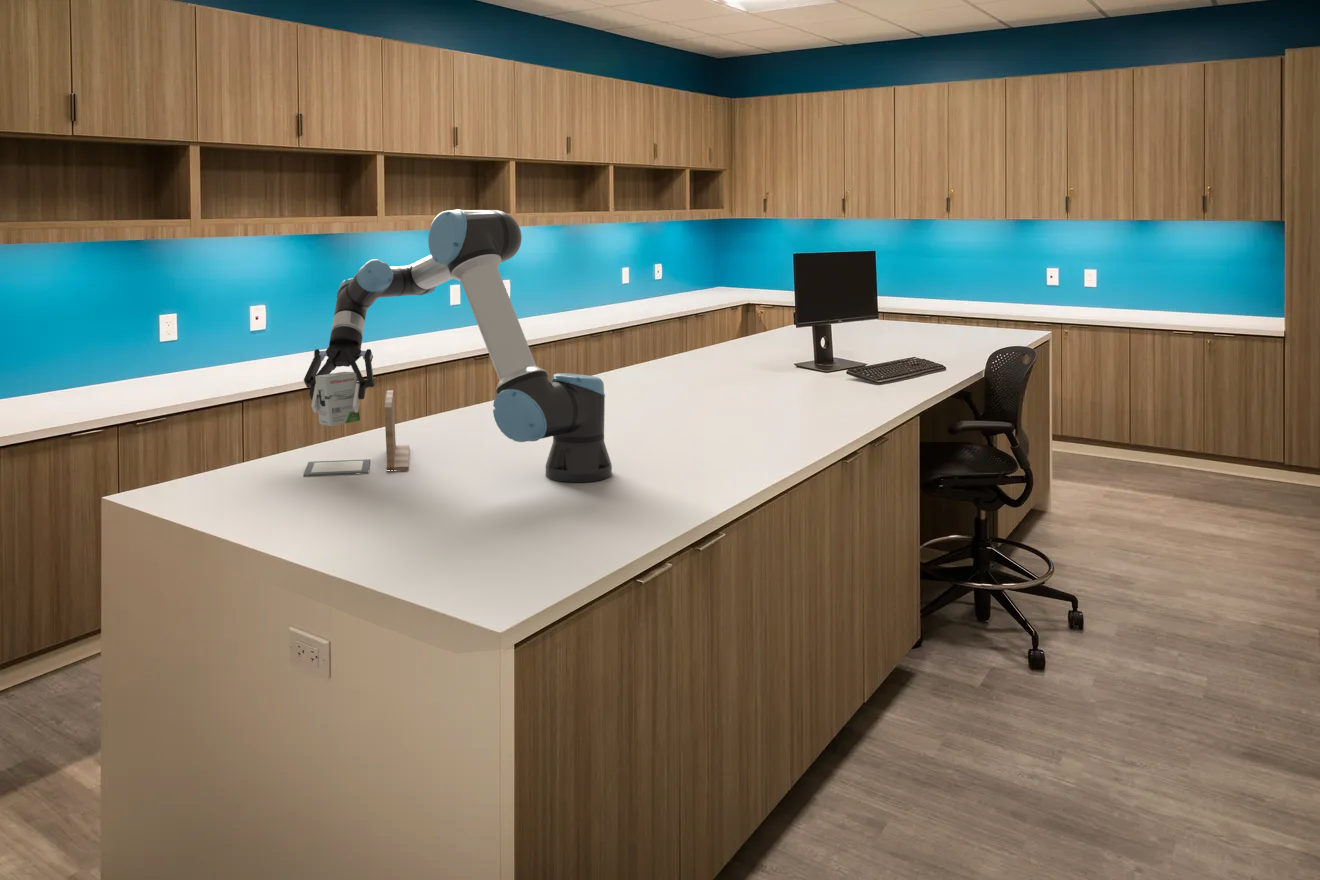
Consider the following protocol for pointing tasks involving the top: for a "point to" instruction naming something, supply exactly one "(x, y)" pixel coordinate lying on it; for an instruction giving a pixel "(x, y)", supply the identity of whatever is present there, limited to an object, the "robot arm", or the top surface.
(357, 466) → the mat
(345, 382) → the ink box
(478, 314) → the robot arm
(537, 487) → the top surface
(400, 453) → the light wood l-shaped piece
